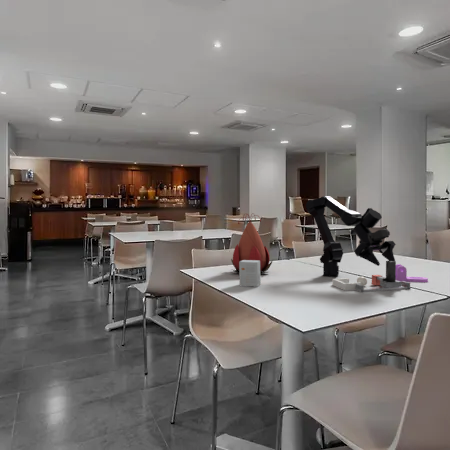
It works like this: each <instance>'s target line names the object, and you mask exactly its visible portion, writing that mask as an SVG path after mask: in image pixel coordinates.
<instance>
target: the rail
mask: <svg viewBox="0 0 450 450" xmlns="http://www.w3.org/2000/svg"><path fill="white" fill-rule="evenodd" d="M410 289H411V282H405V281H401V287H388V288H385V287H382V286H380V285H379V286H367V287H365V286H363V285H360V284H356V290H355V291H358V292H359V293H365V292H369V293H370V292H382V291H398V290H410Z"/></svg>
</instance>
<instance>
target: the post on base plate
mask: <svg viewBox="0 0 450 450" xmlns="http://www.w3.org/2000/svg"><path fill="white" fill-rule="evenodd" d="M396 265H397V262H396V260H395V261H389V260H385V276H383V275H380V274H371V285H374V286H379V287H380V286H382V287H385V288H388V287H401V281H397V280H396Z"/></svg>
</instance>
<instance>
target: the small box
mask: <svg viewBox="0 0 450 450" xmlns="http://www.w3.org/2000/svg"><path fill="white" fill-rule="evenodd" d="M238 273H239V274H238V275H239V286H240V285H241V286H240V287H247V286H254V287H253V288H258V287H260V286H261V284H262V283H261V282H262V281H261V280H262V279H261V273H260V260H242V261H240V262H239V272H238Z"/></svg>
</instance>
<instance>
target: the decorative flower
mask: <svg viewBox="0 0 450 450" xmlns="http://www.w3.org/2000/svg"><path fill="white" fill-rule="evenodd" d="M246 216H248V218H247V217H246ZM251 216H253V217H256V216H257V217H258V218H259V222H260V223H261V222H262V220H261V217H260V216H259V215H258V214H255V213H252V214H251V215H249V213H244V214H243V216H242V217H240V218H239V219H238V225H240V219H242V221H248V222H247V224H246V226H245V228H244V229H243V232H242V234H241V236H240V239H239V242H238V243H236V245H235V247H234V250H233V254H232V258H231V259H230V261H231V263H232V265H233V267H234V269H230V270H231V271H233V272H237V273H239V272H238V271H239V262H240V261H242V260H260V274H266V273H269V271H268V270H269V269H270V267H271V265H272V263H273V260H274V259H272V260H271V261H270V252H269V250H268V248H267V247H266V245H264V243H263V241H262V237H261V236H260V234H259V232H258V230H257V228H256V227H255V225H254V223H252V218H253V217H251ZM244 218H245V219H244ZM254 221H256V218H254ZM235 269H236V270H235ZM237 270H238V271H237Z"/></svg>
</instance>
